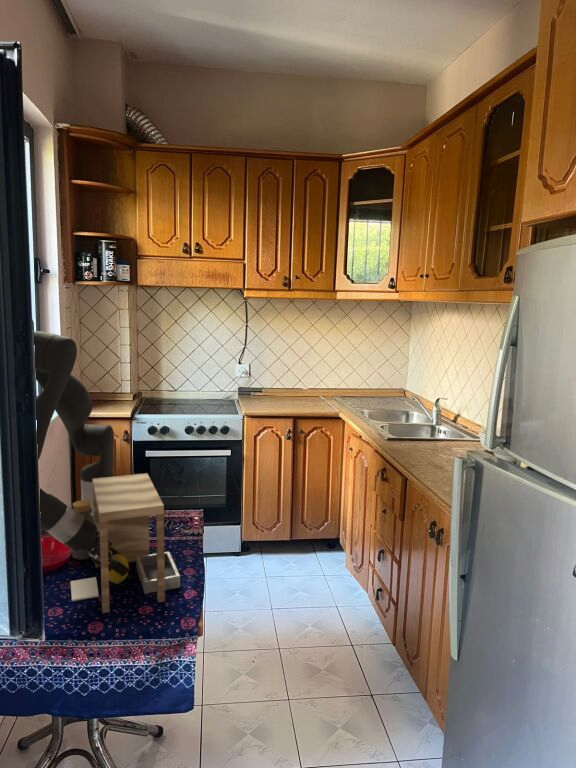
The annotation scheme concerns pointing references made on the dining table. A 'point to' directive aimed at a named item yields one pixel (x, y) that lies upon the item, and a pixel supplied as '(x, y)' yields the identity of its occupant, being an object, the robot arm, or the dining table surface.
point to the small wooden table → (127, 523)
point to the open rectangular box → (149, 572)
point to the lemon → (113, 574)
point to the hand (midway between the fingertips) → (124, 566)
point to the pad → (84, 589)
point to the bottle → (85, 510)
